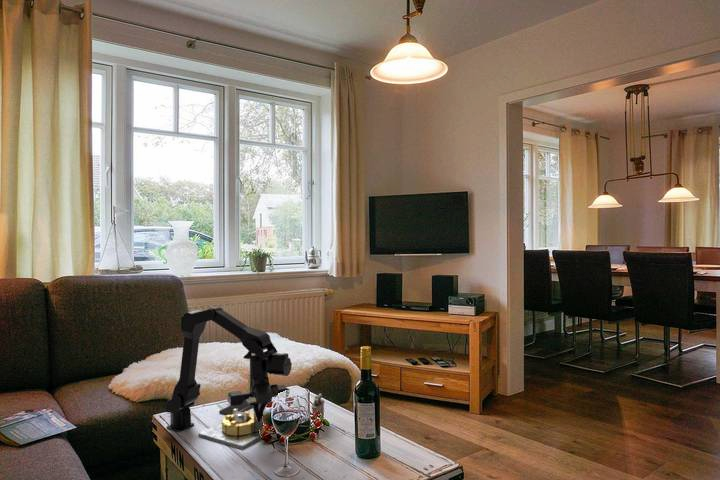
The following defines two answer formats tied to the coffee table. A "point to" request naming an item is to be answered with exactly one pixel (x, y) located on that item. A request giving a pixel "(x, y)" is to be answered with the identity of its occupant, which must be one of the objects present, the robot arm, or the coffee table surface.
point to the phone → (241, 408)
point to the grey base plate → (232, 440)
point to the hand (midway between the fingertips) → (258, 421)
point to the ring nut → (241, 425)
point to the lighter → (318, 405)
